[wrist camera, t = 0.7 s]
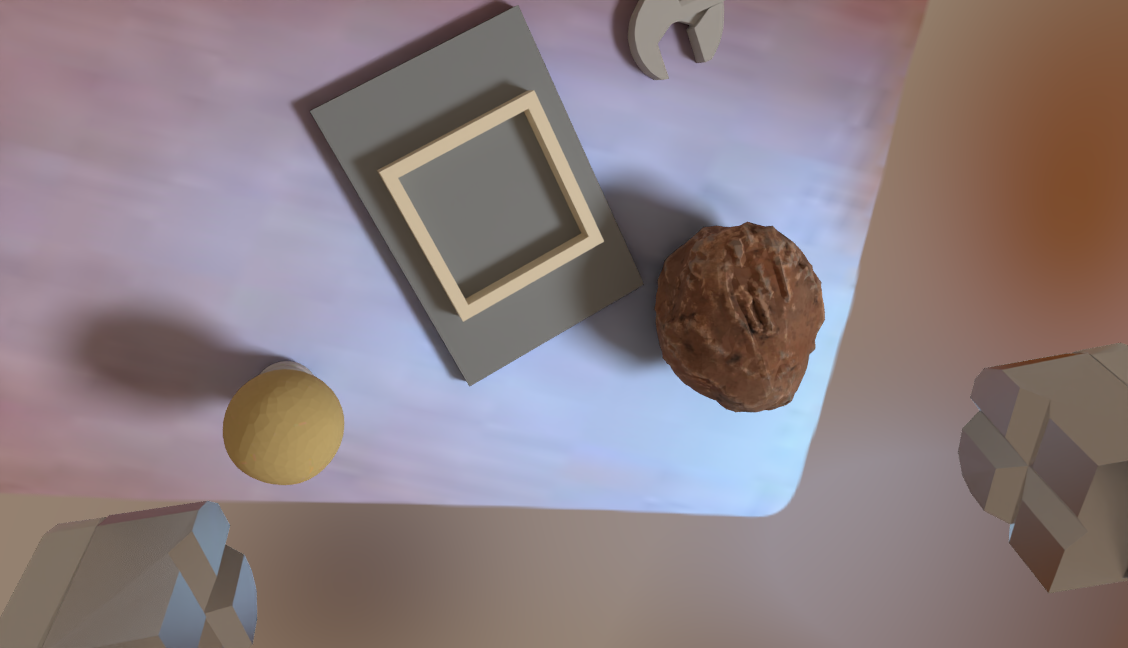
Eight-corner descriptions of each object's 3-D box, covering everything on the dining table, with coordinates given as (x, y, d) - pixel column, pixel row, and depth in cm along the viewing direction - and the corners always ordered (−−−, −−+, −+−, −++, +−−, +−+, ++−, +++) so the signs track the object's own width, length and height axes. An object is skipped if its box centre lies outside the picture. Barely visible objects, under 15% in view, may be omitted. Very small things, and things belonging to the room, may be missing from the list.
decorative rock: (752, 387, 62) (831, 437, 53) (620, 382, 58) (680, 434, 49) (787, 220, 59) (877, 242, 50) (650, 203, 56) (720, 223, 46)
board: (309, 110, 47) (310, 111, 45) (514, 6, 49) (524, 2, 47) (466, 381, 55) (473, 394, 52) (638, 281, 57) (652, 289, 54)
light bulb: (216, 414, 50) (198, 484, 41) (256, 322, 49) (247, 373, 40) (314, 445, 53) (318, 517, 43) (354, 358, 52) (366, 414, 43)
